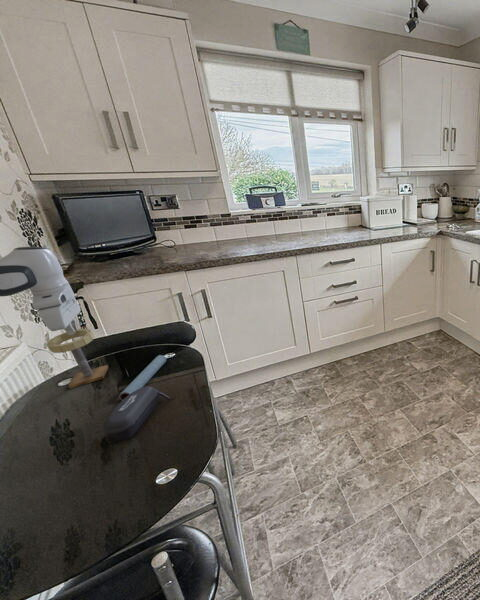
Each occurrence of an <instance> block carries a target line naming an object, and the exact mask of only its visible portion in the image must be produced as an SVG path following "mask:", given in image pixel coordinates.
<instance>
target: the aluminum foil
mask: <svg viewBox="0 0 480 600" xmlns="http://www.w3.org/2000/svg"><path fill="white" fill-rule="evenodd" d="M166 363H167V357H166V356H165V355H162V354H159V355H157V356H156V357H155V358H154V359H152V361H151V362H150V363H149V364H148V365H147V366H146V367H145V368H144V369H143V370H142V371H141V372H140V373H139V374H138V375H137V376H136V377H135V378H134V379H133V380H132V381H131V382H130V383H129V384H128V386H126V387H125V388H124V389H123V390H122V391H121V392H120V393H119V395H118V398H119V399H120V400H121V401H122V400H123V399H124V398H126V397H127V396H128V395H130V394H131V393H132V392H134V391H136V390H138V389H140V388H142V387H145V385H146V384H147V383H148V382H149V381H150V380H151V379H152V378H153V377H154V375H156V373H157V372H158V371H159V370H160V368H162V367H163V365H164V364H166Z"/></svg>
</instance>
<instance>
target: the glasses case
mask: <svg viewBox="0 0 480 600" xmlns="http://www.w3.org/2000/svg"><path fill="white" fill-rule="evenodd" d="M160 396H162V397H163V398H165V399H167V400H169V401H170V400H171V397H169V396H168V395H167V394H165V393H163V392H161V391H160V390H158V389H156V388H154V386H148V385H147V386H143V387H142V388H140V389H138V390H136V391H134V392H132V393H131V394H130V395H128V396H127V397H126V398H124V399H123V400H121V401H120V402H119V403H118V404H117V405H115V407H114V408H113V410H111V412H110V413H109V415H108V417H107V419H106V421H105V422H104V425H103V426H104V427H103V431H104V433H105V434H106V435H108V436H111V437H112V438H113V439H114V440H116V441H117V442H119V441H120V442H121V441H125V440H128V439H130V438H132V437H133V436H134V435H136V433H137V432H138V430H139V429H140V428H141V427H142V426H143V424H144V423H145V422H146V420H147V419H148V418H149V416H150V415H151V414H153V411H154V410H155V409H156V408H157V406H158V403H159V397H160Z"/></svg>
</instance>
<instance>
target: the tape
mask: <svg viewBox="0 0 480 600" xmlns="http://www.w3.org/2000/svg"><path fill="white" fill-rule="evenodd" d="M75 331H76V333H75V334H74V335H68V334H67V332H66V331H65V332H63V333H60V334H58V335H55V336H54V337H52V338H50V339H49V340H48V341H47V342H46V346H47V349H48V350H49V351H50V352H51V353H53V354H62V353H67V352H71V350H75V349H77V348H82V347H85V346H86V345H89V344H90V343H91V342H92V341H94V339H95V335H94V332H93V331H92V330H91V329H89V328H78V329H77V330H75ZM76 338H78V339H76ZM72 339H75V340H72ZM70 340H72V341H70ZM67 341H70V342H67ZM64 342H66V343H64Z"/></svg>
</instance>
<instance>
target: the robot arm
mask: <svg viewBox="0 0 480 600" xmlns="http://www.w3.org/2000/svg"><path fill="white" fill-rule="evenodd" d="M27 290H30V292H31V294H32V297H33V299H32V303H31V305H32V308H33V309H34V310H35V311H37V310H38V315H39V317H40V318H41V320H42V322H43V323H44V325H45V327H46V328H47V330H49V331H51V332H57V331H61V330H64V331H65V332H67V334H68V335H74V334H75V333H76V331H75V330H77V329H79V328H78V326H77V319H76V317H77V316H78V315H79V314H80V313H81V311H82V310H81V306H80V304H79V301H78V300H77V299H76V297H75V296H76V295H75V293H74V291H73V289H72V286H71V284H70V282H69V280H67V278H65V276H64V269H63V267H62V266H61V264H60V261H59V260H58V258H57V257H56V255H55V254H54V253H53V251H52V250H50V249H48V248H46V247H43V246H19V247H15V248H14V249H12V251H10V252H9V253H7V254H6V255H4V256H3V257H1V258H0V297H10V296H13V295H17V294H19V293H22V292H24V291H27Z"/></svg>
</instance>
